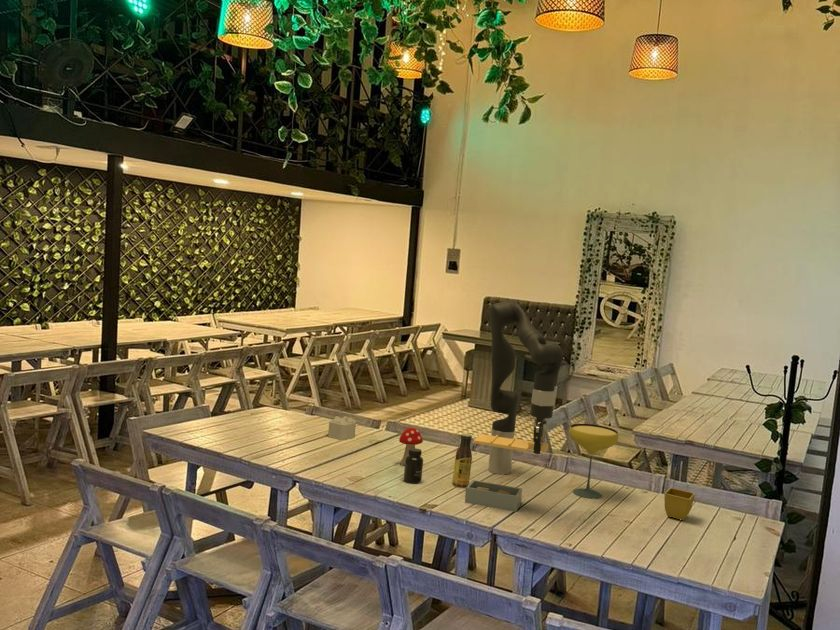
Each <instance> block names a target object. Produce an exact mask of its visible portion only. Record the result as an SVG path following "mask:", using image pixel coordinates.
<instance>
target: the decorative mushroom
mask: <svg viewBox="0 0 840 630" xmlns="http://www.w3.org/2000/svg"><path fill="white" fill-rule="evenodd" d="M423 441H424V440H423V436H422V434H421V432H420V431H419V429H417V428H415V427H409V428H406V429H405V430H403V432H402V433H401V435H400V436H399V441H398V442H399V443H400V444H403V445H405V447H404V448H405V449H404V452H403V456H402V457H401V460H400V461H401V465H402V464H403V465H402V466H404V465H405V459H406V457H407V456H408V455H409V454H408V453H409V449H411V448H416V445H420V444H423Z"/></svg>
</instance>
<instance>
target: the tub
mask: <svg viewBox="0 0 840 630" xmlns="http://www.w3.org/2000/svg"><path fill="white" fill-rule="evenodd" d="M478 487H482V488H489V491H487V490H481V489H477V488H478ZM499 490H501V491H505V492H509V493H510V495H509V494H504V493H498V491H499ZM522 496H523V488H521V487H517V486H516V487H514V486H511V485H505V484H499V483H494V482H487V481H480V480H475V479H472V480H471V481H470V482H469V484H468V486H467V487H465V497H464V503H468V504H472V505H477V506H484V507H489V508H494V509H500V510H505V511H510V512H515V513H517V511H518V510H519V508H520V506H521V503H522Z"/></svg>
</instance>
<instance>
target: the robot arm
mask: <svg viewBox="0 0 840 630" xmlns="http://www.w3.org/2000/svg"><path fill="white" fill-rule="evenodd" d="M489 321H490V331H491V334H490V335H491V379H492V380H491V394H490V408H491V411H493V412H495V413H499V414H505V415H507V416H506V417H505V418H504V417H503V418H501V419H496V420H494V421H493V422H492V427H491V434H490V436H496V435H498V437H503V438H510V439H513V438H515V430H516V421H517V412H518V406H519V397H520V396H519V394H518V392H517V391H513V390H512V391H511V390H504V389H501V387H502V385H503V384H504V383H505V381H506V380H507V379H508V378H509V377H510V376H511V374H512V373H513V372H514V370H515V368H516V350H515V349H514V347H513V345H511V343H510V342H509V341H508V340H507V338H506V337H505V336H504V334H503V329H504V327H507V326H512V325H515V324H517V325H519V327H518V330H517V331H518V339H519V341H520V343H521V344H522V345H523V346H524V347H525V348H526V349H527V351H528V353H529V356H530V358H531V361H532V362H533V363H534V364H536V365H538V366H546V367H545V369H543V370H540V371H537V372H536V373H535V374H534V378H533V379H534V380H533V389H532V394H531V402H530V412H529V413H530V416H532V417H534V418H536V420H535V421H533V433H532V434H533V435H532V437H533V439H532V441H533V442H534V450H533V454H536V455H539V454H541V451H540V449H541V443H544V439H545V434H546V429H547V425H548V424H547V423H548V422H547V419H551V418H553V416H554V415H553V413H554V404H555V385H556V379H557V376H558V373H559V371H560V368H561V366H562V364H563V359H564V353H563V350H562V348H561V347H560V346H559V345H558V344H547V340H546V338H545V336H543V334H541V332H539V330H537V329H536V327H535V326H534V324H532V322H531V320H530V319H529V317H528V316H527V314H526V313H525V311H524V309H523V308H522V307H521V305H520V304H519V303H518V301H516V300H515V299H507V300H504V301H499V302H496V303H493V304H491V306H490V308H489ZM513 452H514V450H513V449H507V448H500V447H494V446H489V457H488V469H487V470H488V471H489V472H490V473H492V474H498V475H508V474H511V473H512V465H513V464H512V463H513V454H514V453H513ZM510 472H511V473H510Z"/></svg>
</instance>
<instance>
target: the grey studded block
mask: <svg viewBox="0 0 840 630" xmlns="http://www.w3.org/2000/svg"><path fill="white" fill-rule="evenodd" d="M356 424H357V420H355V419H354V418H353V417H348V416H346V415H345V416H342V417H340V416H338V415H337V416H335V417H334V418H333V419H330V420H329V422H328V436H327V437H328V438H330V439H334V440H337V441H348V439H349V440H353V439H355V437H356V428H357V427H356Z"/></svg>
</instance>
